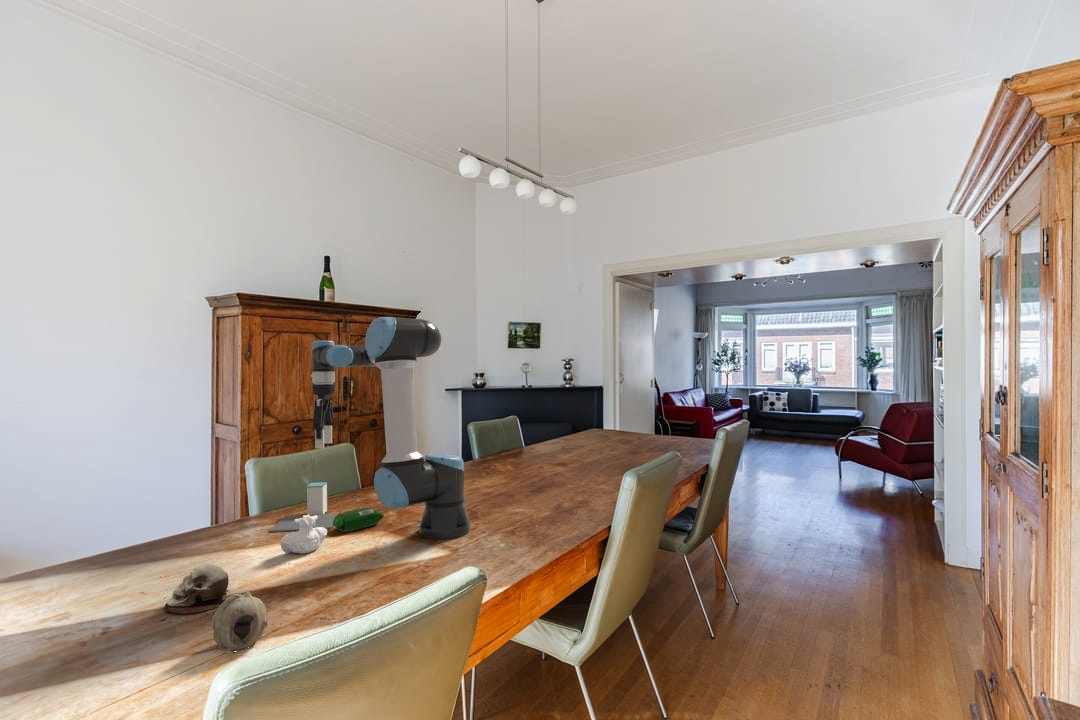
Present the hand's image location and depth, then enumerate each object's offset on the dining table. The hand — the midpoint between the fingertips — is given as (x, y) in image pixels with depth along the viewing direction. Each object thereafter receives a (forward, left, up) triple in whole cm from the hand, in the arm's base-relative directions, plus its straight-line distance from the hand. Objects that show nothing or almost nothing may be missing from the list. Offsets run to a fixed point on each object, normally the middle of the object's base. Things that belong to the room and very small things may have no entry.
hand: (323, 445), depth 177 cm
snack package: (-25, -17, -22) cm, 38 cm away
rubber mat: (-19, 0, -22) cm, 29 cm away
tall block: (-8, 0, -22) cm, 23 cm away
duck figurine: (-44, -7, -22) cm, 50 cm away
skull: (-70, +6, -22) cm, 74 cm away
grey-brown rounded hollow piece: (-89, -10, -22) cm, 92 cm away
